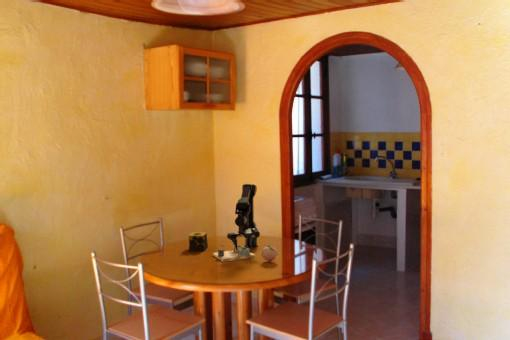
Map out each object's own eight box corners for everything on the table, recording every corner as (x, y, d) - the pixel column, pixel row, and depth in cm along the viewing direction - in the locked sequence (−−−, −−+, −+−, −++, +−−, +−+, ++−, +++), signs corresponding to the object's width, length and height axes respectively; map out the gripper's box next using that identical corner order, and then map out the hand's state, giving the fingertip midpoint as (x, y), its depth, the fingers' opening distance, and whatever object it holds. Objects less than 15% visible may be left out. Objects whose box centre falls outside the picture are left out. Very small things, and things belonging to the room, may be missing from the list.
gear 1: (241, 249, 300) (240, 244, 299) (247, 251, 294) (247, 246, 294) (231, 251, 296) (231, 246, 295) (237, 253, 290) (237, 248, 290)
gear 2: (247, 252, 293) (246, 247, 293) (251, 254, 287) (251, 249, 286) (236, 253, 290) (236, 248, 290) (240, 256, 284) (240, 251, 283)
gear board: (244, 251, 301) (243, 243, 301) (254, 257, 287) (254, 248, 286) (213, 255, 293) (213, 247, 292) (222, 261, 278) (222, 253, 278)
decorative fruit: (258, 261, 277) (258, 244, 276) (269, 259, 282) (269, 241, 281) (268, 265, 270) (268, 247, 269) (280, 262, 275) (280, 244, 274)
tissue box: (208, 247, 313) (207, 231, 312) (204, 251, 303) (204, 235, 302) (192, 247, 314) (191, 231, 313) (188, 251, 304) (188, 235, 303)
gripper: (233, 227, 275) (234, 254, 277) (263, 223, 283) (264, 250, 284) (226, 223, 285) (227, 250, 287) (255, 220, 293) (256, 246, 295)
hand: (243, 249), depth 288 cm, fingers open, 9 cm apart
